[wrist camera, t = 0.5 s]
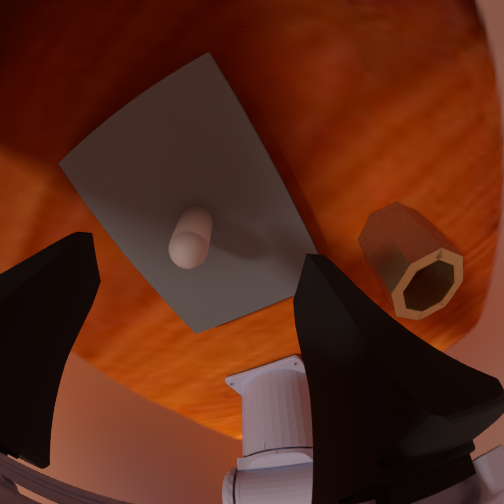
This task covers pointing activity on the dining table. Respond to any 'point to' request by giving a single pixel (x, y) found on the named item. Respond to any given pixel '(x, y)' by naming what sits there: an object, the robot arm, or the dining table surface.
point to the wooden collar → (410, 261)
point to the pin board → (194, 198)
